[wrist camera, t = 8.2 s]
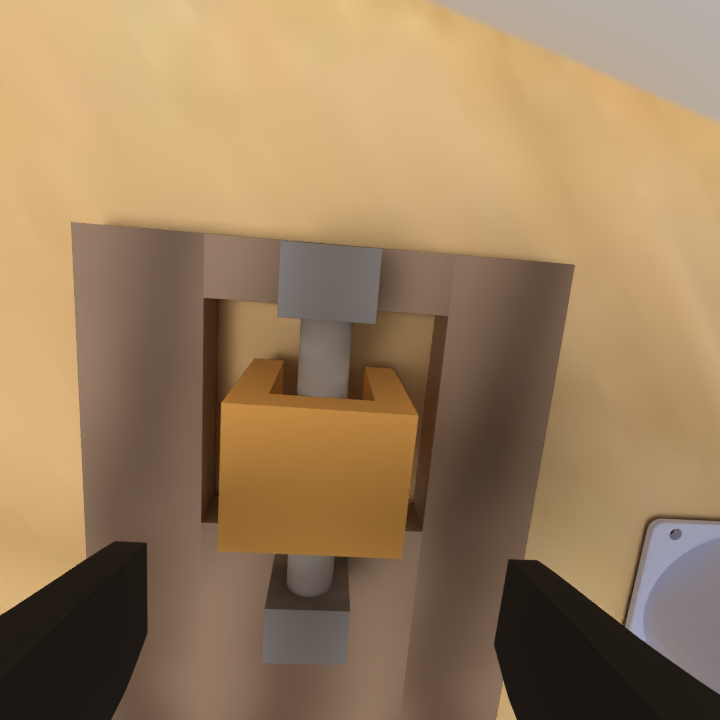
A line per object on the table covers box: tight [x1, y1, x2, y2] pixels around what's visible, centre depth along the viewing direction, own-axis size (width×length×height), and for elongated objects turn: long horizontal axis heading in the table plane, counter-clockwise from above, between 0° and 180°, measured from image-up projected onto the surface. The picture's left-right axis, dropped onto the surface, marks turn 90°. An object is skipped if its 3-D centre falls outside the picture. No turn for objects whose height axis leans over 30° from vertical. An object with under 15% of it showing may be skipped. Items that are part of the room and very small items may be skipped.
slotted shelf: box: [71, 222, 575, 720], centre depth 17 cm, size 16×24×6 cm, turn 175°
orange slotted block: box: [217, 359, 419, 559], centre depth 14 cm, size 5×4×5 cm
